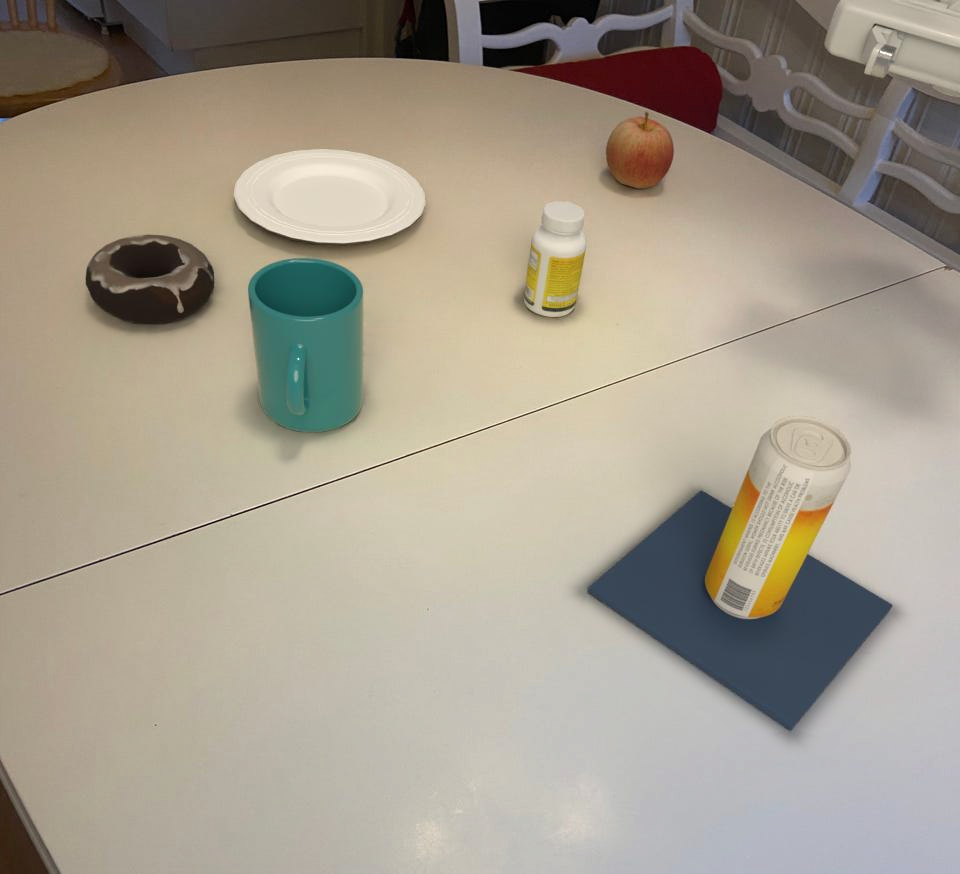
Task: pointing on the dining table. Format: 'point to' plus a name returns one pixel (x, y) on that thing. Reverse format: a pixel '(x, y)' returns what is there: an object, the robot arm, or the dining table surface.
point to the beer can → (777, 515)
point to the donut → (150, 279)
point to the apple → (639, 152)
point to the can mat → (735, 641)
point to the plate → (329, 197)
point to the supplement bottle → (556, 260)
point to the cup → (308, 343)
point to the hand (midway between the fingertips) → (939, 83)
